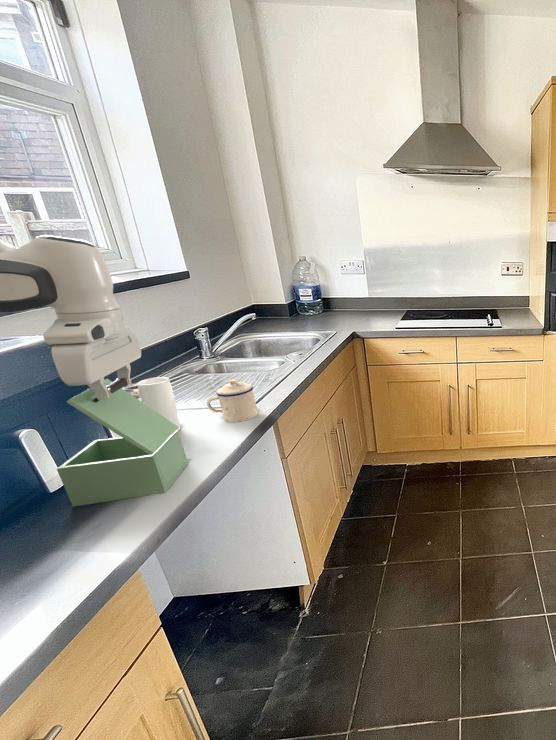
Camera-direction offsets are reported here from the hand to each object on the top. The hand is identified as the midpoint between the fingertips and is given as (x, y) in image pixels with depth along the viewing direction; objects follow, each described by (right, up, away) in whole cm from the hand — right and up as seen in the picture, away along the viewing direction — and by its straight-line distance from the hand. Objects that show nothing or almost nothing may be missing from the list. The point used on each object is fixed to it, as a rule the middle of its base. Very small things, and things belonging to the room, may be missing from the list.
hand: (115, 392), depth 84 cm
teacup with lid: (-2, -9, +39) cm, 40 cm away
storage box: (-2, -20, +7) cm, 21 cm away
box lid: (0, -5, +2) cm, 6 cm away
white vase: (-14, -12, +31) cm, 36 cm away
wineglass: (-23, -10, +35) cm, 43 cm away
